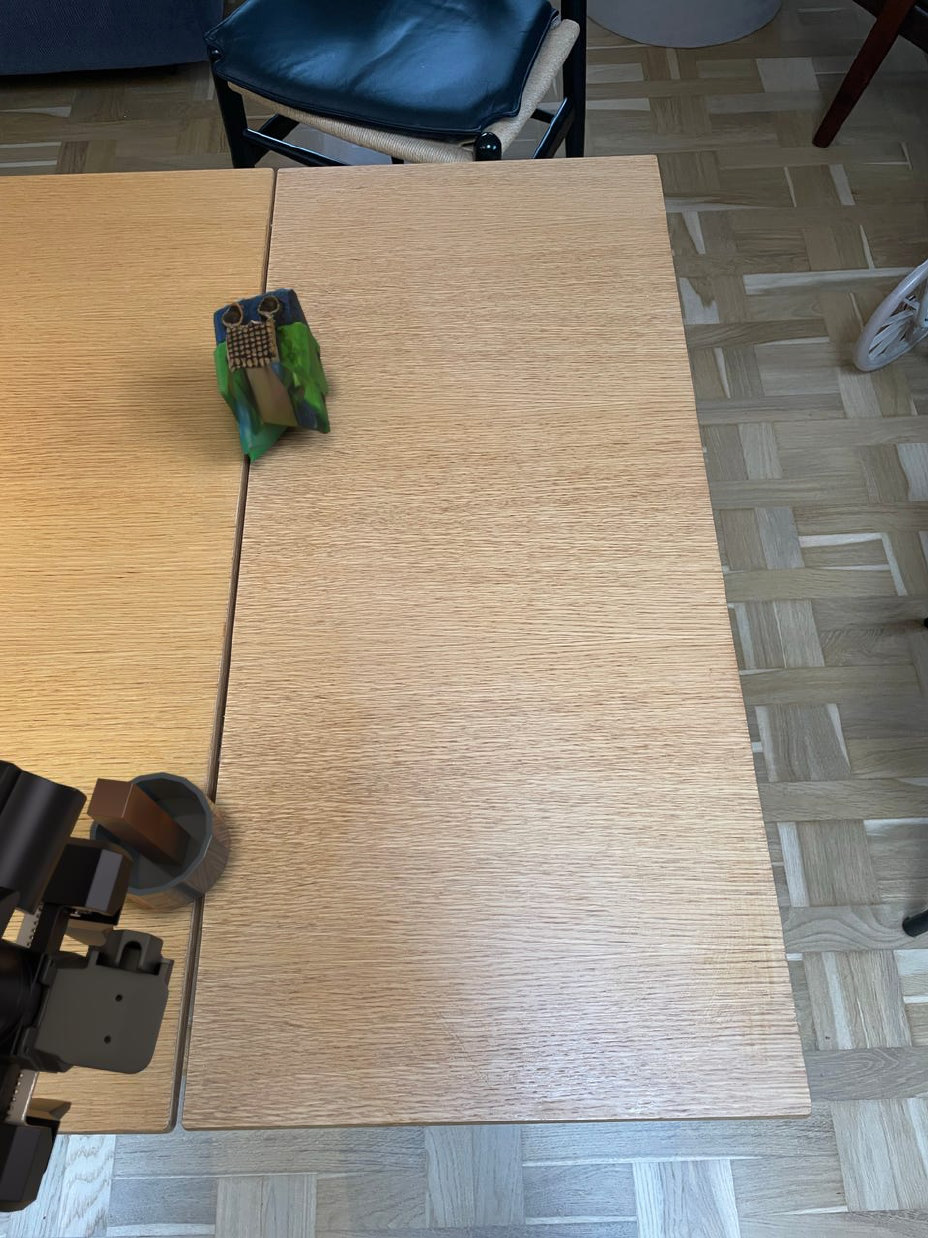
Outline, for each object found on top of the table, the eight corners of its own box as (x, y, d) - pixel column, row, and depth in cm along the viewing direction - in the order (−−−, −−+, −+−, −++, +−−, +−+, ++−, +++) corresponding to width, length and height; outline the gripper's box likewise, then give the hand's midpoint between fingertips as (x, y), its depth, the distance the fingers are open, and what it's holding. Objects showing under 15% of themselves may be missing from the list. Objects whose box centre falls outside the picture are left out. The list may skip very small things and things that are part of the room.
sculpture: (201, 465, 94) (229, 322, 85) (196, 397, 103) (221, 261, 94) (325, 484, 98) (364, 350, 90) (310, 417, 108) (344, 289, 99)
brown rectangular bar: (182, 866, 78) (122, 818, 66) (150, 862, 79) (85, 814, 67) (190, 834, 79) (133, 782, 68) (159, 830, 80) (97, 777, 68)
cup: (173, 934, 76) (149, 921, 72) (91, 862, 79) (63, 845, 75) (254, 837, 80) (237, 819, 75) (172, 772, 83) (151, 750, 78)
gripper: (58, 1245, 43) (169, 1216, 56) (174, 825, 51) (246, 890, 65) (-179, 1204, 44) (-13, 1185, 58) (-27, 799, 52) (86, 868, 66)
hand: (87, 1023), depth 61 cm, fingers open, 9 cm apart
